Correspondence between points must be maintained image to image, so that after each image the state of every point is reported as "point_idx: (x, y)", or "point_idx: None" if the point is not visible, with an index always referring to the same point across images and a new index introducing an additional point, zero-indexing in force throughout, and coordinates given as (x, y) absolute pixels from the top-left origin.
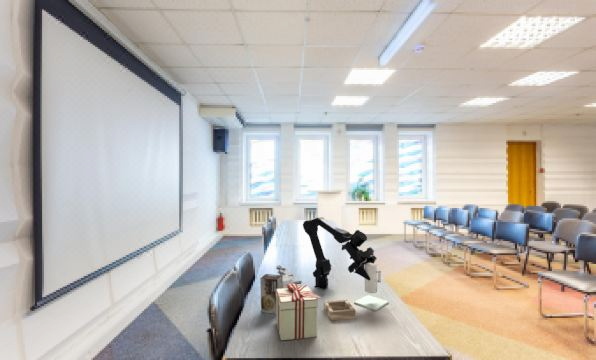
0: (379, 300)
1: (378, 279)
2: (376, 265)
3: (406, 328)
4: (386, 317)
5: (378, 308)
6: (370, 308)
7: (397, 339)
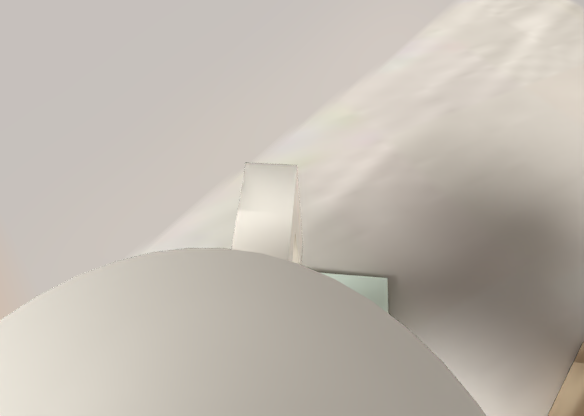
0: None
1: (299, 253)
2: (118, 283)
3: (441, 88)
4: (413, 195)
5: (351, 276)
6: None
7: (561, 81)
